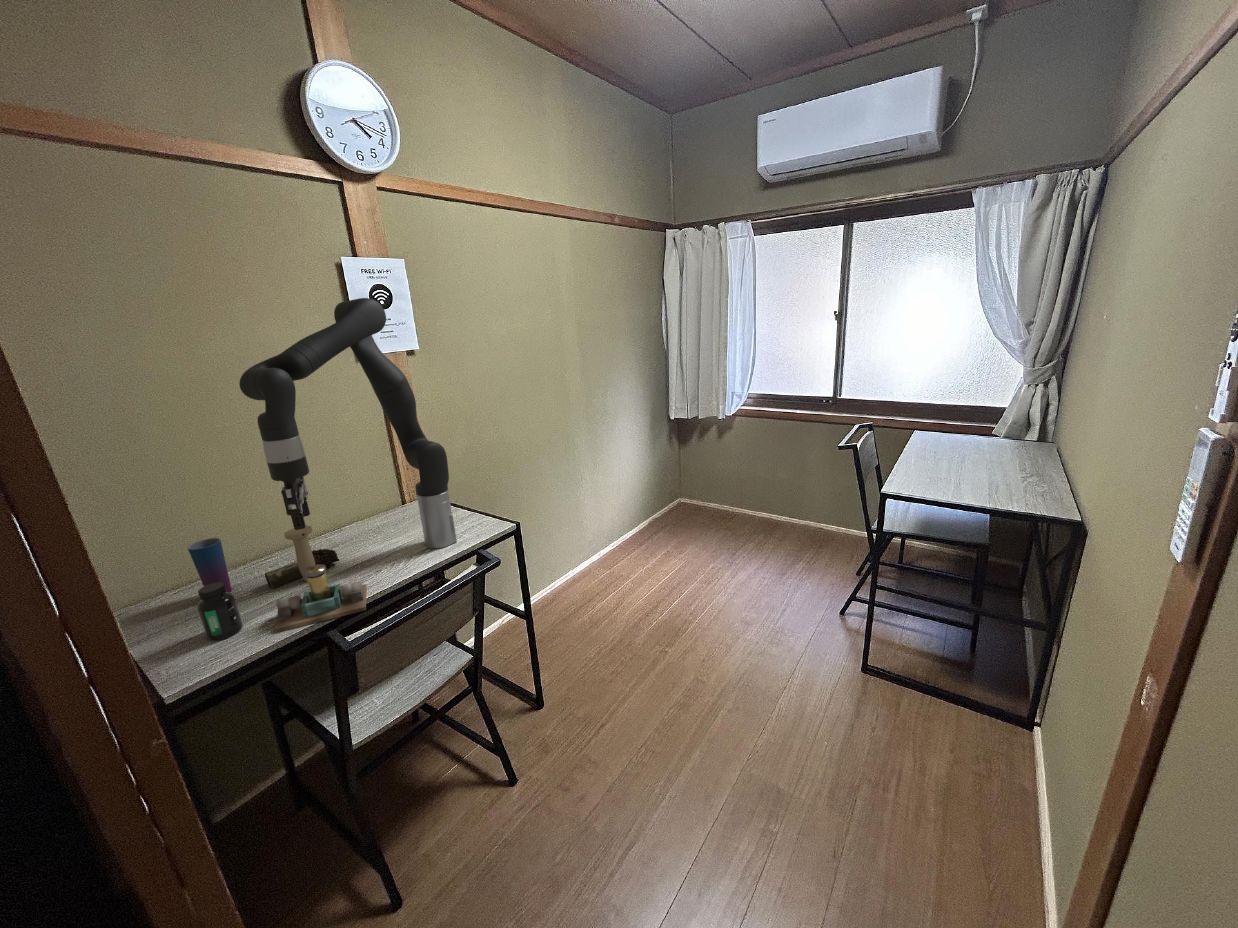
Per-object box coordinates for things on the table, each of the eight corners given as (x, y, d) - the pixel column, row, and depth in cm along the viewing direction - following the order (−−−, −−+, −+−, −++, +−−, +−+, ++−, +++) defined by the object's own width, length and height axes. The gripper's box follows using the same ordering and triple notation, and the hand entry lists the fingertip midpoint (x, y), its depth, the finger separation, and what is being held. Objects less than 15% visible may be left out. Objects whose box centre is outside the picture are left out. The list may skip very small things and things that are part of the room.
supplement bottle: (222, 643, 114) (206, 597, 110) (200, 639, 116) (184, 593, 112) (250, 625, 120) (237, 581, 117) (229, 621, 122) (214, 578, 118)
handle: (326, 576, 142) (314, 527, 137) (303, 586, 137) (290, 536, 132) (317, 572, 144) (305, 524, 140) (294, 582, 139) (280, 533, 135)
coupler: (334, 597, 129) (326, 562, 126) (333, 606, 125) (324, 570, 122) (314, 602, 127) (305, 567, 124) (312, 611, 123) (302, 575, 120)
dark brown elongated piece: (272, 591, 136) (266, 572, 134) (265, 583, 140) (260, 565, 138) (341, 565, 147) (337, 548, 146) (334, 559, 152) (329, 542, 150)
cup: (201, 603, 130) (184, 551, 126) (207, 591, 136) (191, 541, 132) (233, 596, 133) (217, 545, 129) (238, 584, 139) (222, 535, 135)
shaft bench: (366, 587, 135) (363, 570, 133) (365, 610, 124) (361, 592, 123) (284, 606, 127) (279, 589, 126) (276, 632, 117) (270, 614, 116)
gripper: (300, 462, 109) (317, 529, 114) (308, 447, 121) (323, 508, 126) (260, 467, 106) (279, 537, 111) (272, 451, 119) (289, 515, 124)
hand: (302, 522), depth 119 cm, fingers open, 8 cm apart
